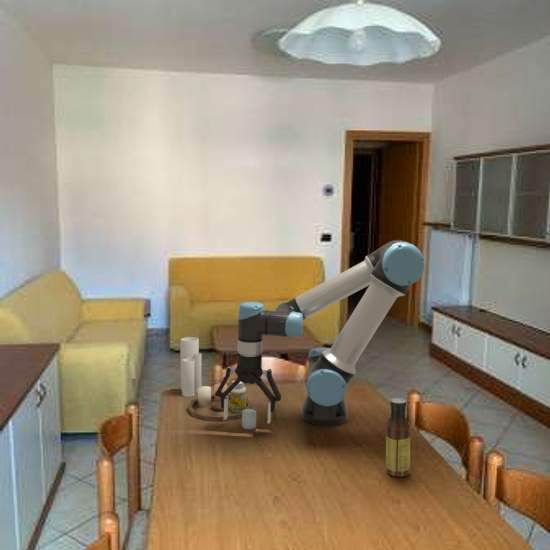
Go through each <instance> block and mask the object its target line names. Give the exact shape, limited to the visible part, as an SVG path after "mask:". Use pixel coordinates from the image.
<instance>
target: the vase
mask: <svg viewBox="0 0 550 550" xmlns="http://www.w3.org/2000/svg"><path fill="white" fill-rule="evenodd" d="M199 340H200V339H199V338H198V337H195V336H192V337H191V336H186V337H181V338H180V340H179V342H180V343H179V344H180V355H179V358H180V359H179V360H180V365H179V366H180V391H181V396H182V397H186V398H189V397H190V398H191V397H193V396H195V394H198V388H199V387H201V386H202V353H201V352H199V351H200V350H199V347H200V346H199V345H200V343H199Z"/></svg>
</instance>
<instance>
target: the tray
mask: <svg viewBox="0 0 550 550" xmlns="http://www.w3.org/2000/svg"><path fill="white" fill-rule="evenodd" d="M227 396H228V417H227V419H226V420H224V408H221V401H214V394H211V406H210V407H206V408H202V407H199V406H198V397H197V398H193V399H191V400H190V402H189V403H188V404H187V406H186V407H187V408H186V410H187V412H188V413H189V414H190V415H191V417H194V418H196V419H200V420H202V421H211V422H212V421H213V422H224V421H225V422H226V421H233V420H239V419H242V412H233V411H231V410H230V393H229V394H228V395H227ZM246 409H253V403H252V402H251V401H250V400H249V399H248V398H247V397H246Z"/></svg>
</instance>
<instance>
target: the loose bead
mask: <svg viewBox="0 0 550 550" xmlns="http://www.w3.org/2000/svg"><path fill="white" fill-rule="evenodd" d="M241 427H242V429H243V430H244V429H245V430H253V429H254V430H253V431H254V433H256V431H257V410H256V409H254V408H252V409H245V410H243V411H242V417H241Z"/></svg>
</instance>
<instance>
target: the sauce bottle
mask: <svg viewBox="0 0 550 550" xmlns="http://www.w3.org/2000/svg"><path fill="white" fill-rule="evenodd" d="M389 404H390V417H389V418H388V419H387V422H386V423H385V424H386V425H385V426H386V431H385V433H386V434H385V468H386V472H387V474H389V475H390V476H392V477H396V478H404V477H407V476H408V475H410V468H411V431H410V430H411V426H410V424H409V421H408V420H407V416H406V407H407V400H406V399H404V398H402V397H394V398H391V399H390V403H389Z"/></svg>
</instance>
